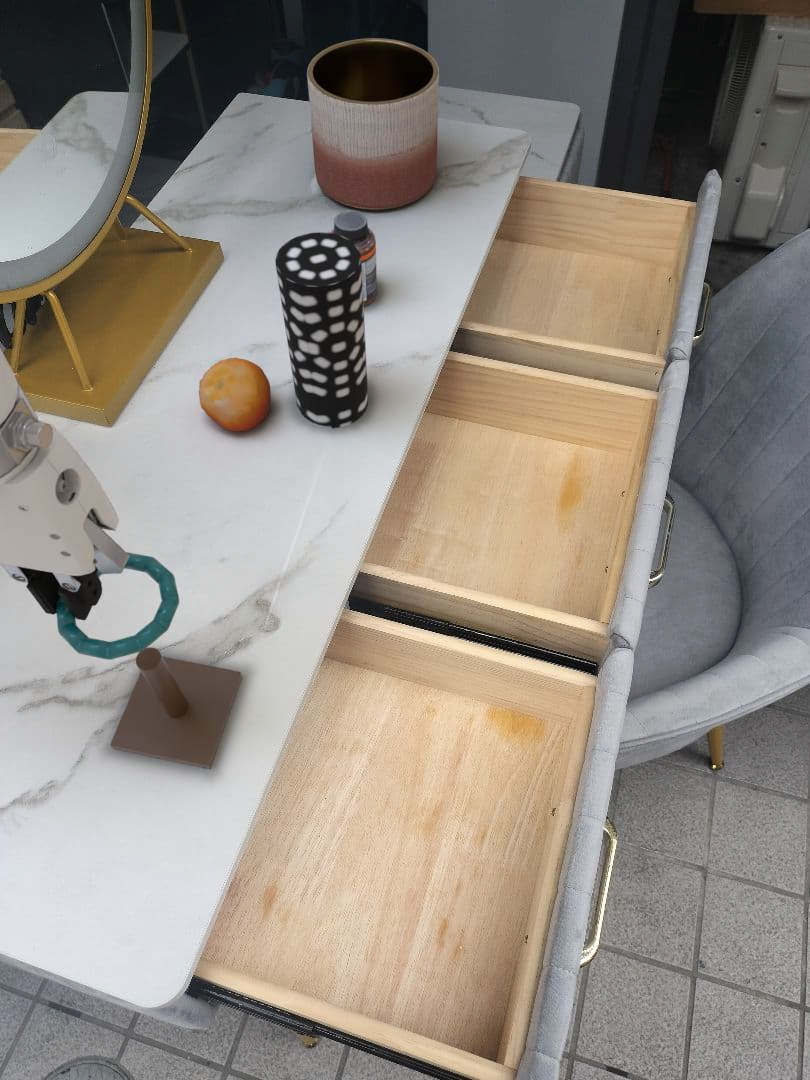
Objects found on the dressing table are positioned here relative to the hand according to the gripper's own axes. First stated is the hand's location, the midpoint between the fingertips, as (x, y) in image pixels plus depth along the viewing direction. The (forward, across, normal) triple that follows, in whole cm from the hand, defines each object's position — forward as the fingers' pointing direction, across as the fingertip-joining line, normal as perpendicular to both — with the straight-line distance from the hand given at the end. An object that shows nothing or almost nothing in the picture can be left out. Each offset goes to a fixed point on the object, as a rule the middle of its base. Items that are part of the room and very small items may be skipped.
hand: (74, 598), depth 59 cm
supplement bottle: (+19, -6, -59) cm, 62 cm away
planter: (+19, -3, -85) cm, 87 cm away
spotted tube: (+19, -8, -40) cm, 45 cm away
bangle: (0, -3, 0) cm, 3 cm away
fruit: (+19, +2, -36) cm, 41 cm away
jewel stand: (+19, -4, 0) cm, 19 cm away
